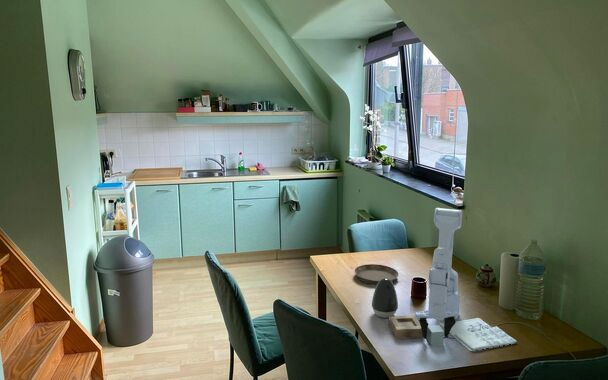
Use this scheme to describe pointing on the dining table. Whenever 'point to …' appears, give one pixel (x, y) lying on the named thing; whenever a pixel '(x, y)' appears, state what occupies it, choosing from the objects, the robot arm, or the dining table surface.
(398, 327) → the square wooden tray
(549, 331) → the dining table surface
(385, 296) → the dark grey egg shape
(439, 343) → the blue block
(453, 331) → the paper napkin stack
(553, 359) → the dining table surface
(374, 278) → the plant saucer
